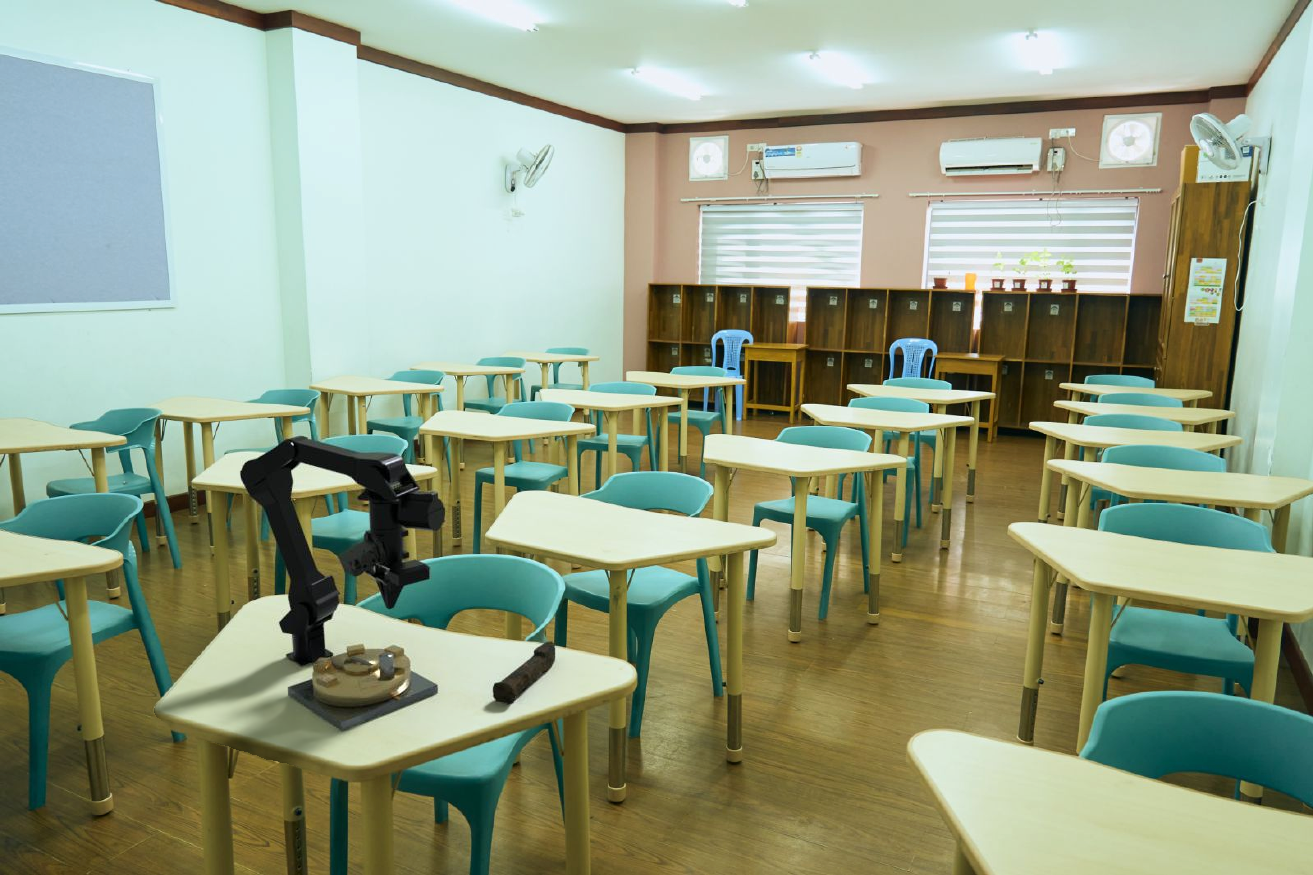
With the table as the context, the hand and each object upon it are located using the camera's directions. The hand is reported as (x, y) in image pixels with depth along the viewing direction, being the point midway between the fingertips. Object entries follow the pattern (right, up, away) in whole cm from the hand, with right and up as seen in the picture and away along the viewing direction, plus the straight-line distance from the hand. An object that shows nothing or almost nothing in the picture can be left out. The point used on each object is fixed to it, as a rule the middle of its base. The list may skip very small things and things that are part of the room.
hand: (390, 608), depth 160 cm
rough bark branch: (+25, -13, -1) cm, 28 cm away
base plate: (-2, -13, -7) cm, 15 cm away
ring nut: (-2, -12, -8) cm, 14 cm away
